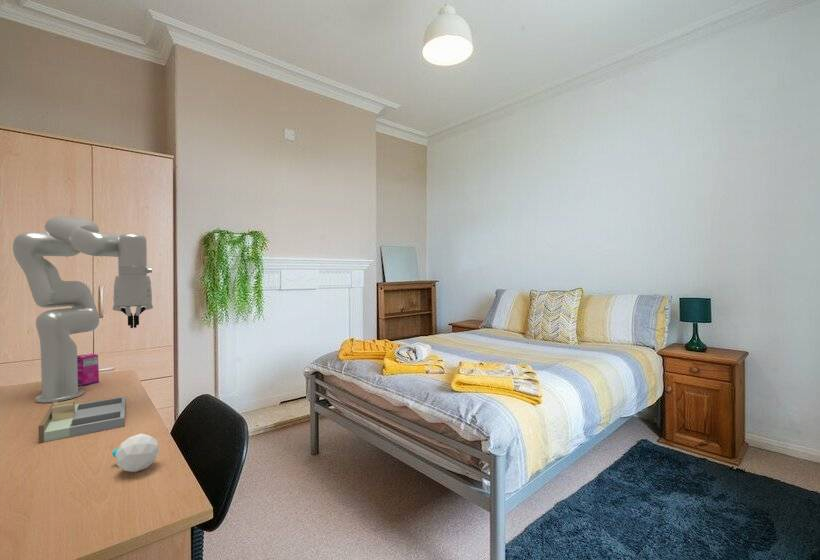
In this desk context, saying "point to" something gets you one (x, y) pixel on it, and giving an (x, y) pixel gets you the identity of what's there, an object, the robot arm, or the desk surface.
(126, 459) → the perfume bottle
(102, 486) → the desk surface
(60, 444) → the desk surface
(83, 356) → the supplement box
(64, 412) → the maple block
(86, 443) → the desk surface
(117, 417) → the board
